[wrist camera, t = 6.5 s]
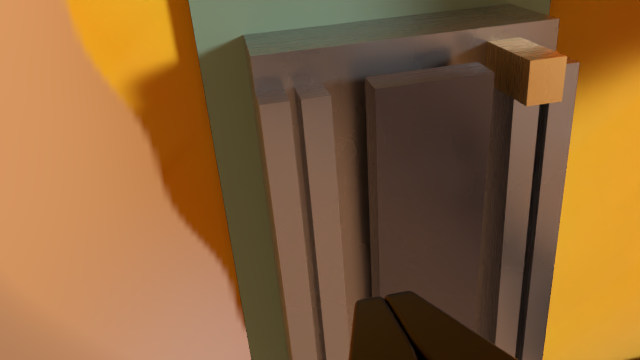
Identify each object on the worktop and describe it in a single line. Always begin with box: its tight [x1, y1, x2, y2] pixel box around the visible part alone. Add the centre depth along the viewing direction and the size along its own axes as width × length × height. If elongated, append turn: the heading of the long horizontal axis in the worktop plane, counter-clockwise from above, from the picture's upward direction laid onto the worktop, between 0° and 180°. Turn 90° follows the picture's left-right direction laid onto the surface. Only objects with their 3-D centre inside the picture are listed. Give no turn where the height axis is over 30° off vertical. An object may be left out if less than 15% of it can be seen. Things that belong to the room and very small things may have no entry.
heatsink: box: [243, 4, 580, 360], centre depth 20 cm, size 16×9×5 cm, turn 5°
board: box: [188, 0, 551, 360], centre depth 22 cm, size 19×12×1 cm, turn 5°
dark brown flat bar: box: [365, 62, 495, 330], centre depth 18 cm, size 14×4×1 cm, turn 5°
